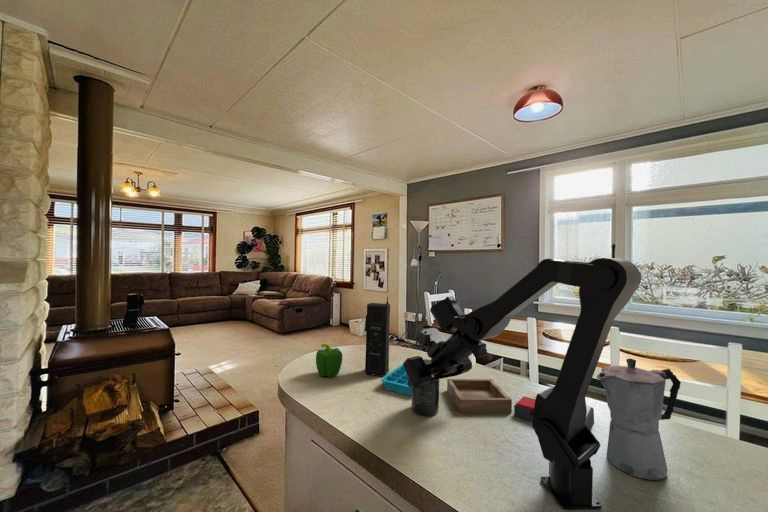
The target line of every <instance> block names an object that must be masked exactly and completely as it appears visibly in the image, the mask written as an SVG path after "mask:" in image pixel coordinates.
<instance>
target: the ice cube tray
mask: <svg viewBox="0 0 768 512" xmlns="http://www.w3.org/2000/svg"><path fill="white" fill-rule="evenodd" d="M408 380H409V377H408V375H407V373H406V371H405V369H404V366H403V363H401V365H399V366H397V367H396V368H395V369H393V370H392V371H390V372H388V373H387V374H386V375H385V376H382V377H381V379H380V381H381V382H382V383H383V385H384V386H383V387H385V388H384V390H387V389H390V390H389V391H391V390H393V391H392V392H395V391H396V392H395V393H399V392H400V393H399V394H403V395H407V396H411V397H412V387H409V386H408Z"/></svg>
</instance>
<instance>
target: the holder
mask: <svg viewBox="0 0 768 512" xmlns="http://www.w3.org/2000/svg"><path fill="white" fill-rule="evenodd" d="M446 381H447V383H446V384H447V385H446V387H447V389H446V391H447V393H448V394H449V396H450V398H451V399H452V402H453V403H454V405H455V407H456V409H457V410H458V412H459V413H460V414H480V413H481V414H512V411H513V410H512V408H513V405H512V404H513V399H512V398H511V397H510V396H509V395H508V394H507V393H506V392H505V391H504V390H503V389H502V388H501V387H500V386H499V385H498V384H497V383H496V382H495V381H494V380H493V379H492V378H487V379H483V378H447V380H446Z"/></svg>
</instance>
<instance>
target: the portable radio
mask: <svg viewBox="0 0 768 512" xmlns="http://www.w3.org/2000/svg"><path fill="white" fill-rule="evenodd" d="M390 313H391V304H390V303H389V296H386V303H380V302H379V303H378V302H370V303H367V304H366V315H365V322H364V323H365V324H364V332H366V336H365V337H366V338H365V359H364V360H365V364H364V374H365V373H367V374H366V375H370V374H374V375H373V376H377V375H382V376H381V377H384V376H386V375H387V374H388V373H389V365H390V359H389V357H390V323H391V320H390V319H391V314H390ZM387 372H388V373H387Z"/></svg>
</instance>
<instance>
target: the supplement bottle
mask: <svg viewBox="0 0 768 512" xmlns="http://www.w3.org/2000/svg"><path fill="white" fill-rule="evenodd" d="M423 360H424V362H425V364H426V365H427V364H431V359H426V358H425V359H424V358H423ZM430 371H431V370H430ZM439 406H440V379H439V376H438V374H434V375H431V381H430V382H429V383H428V384H427V385H425V386H421V387H417V388H415V387H412V396H411V405H410V407H411V410H412V411H413V413H414V414H416V415H418V416H422V417H432V416H435V415H437V413H439V409H440V407H439Z"/></svg>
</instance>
